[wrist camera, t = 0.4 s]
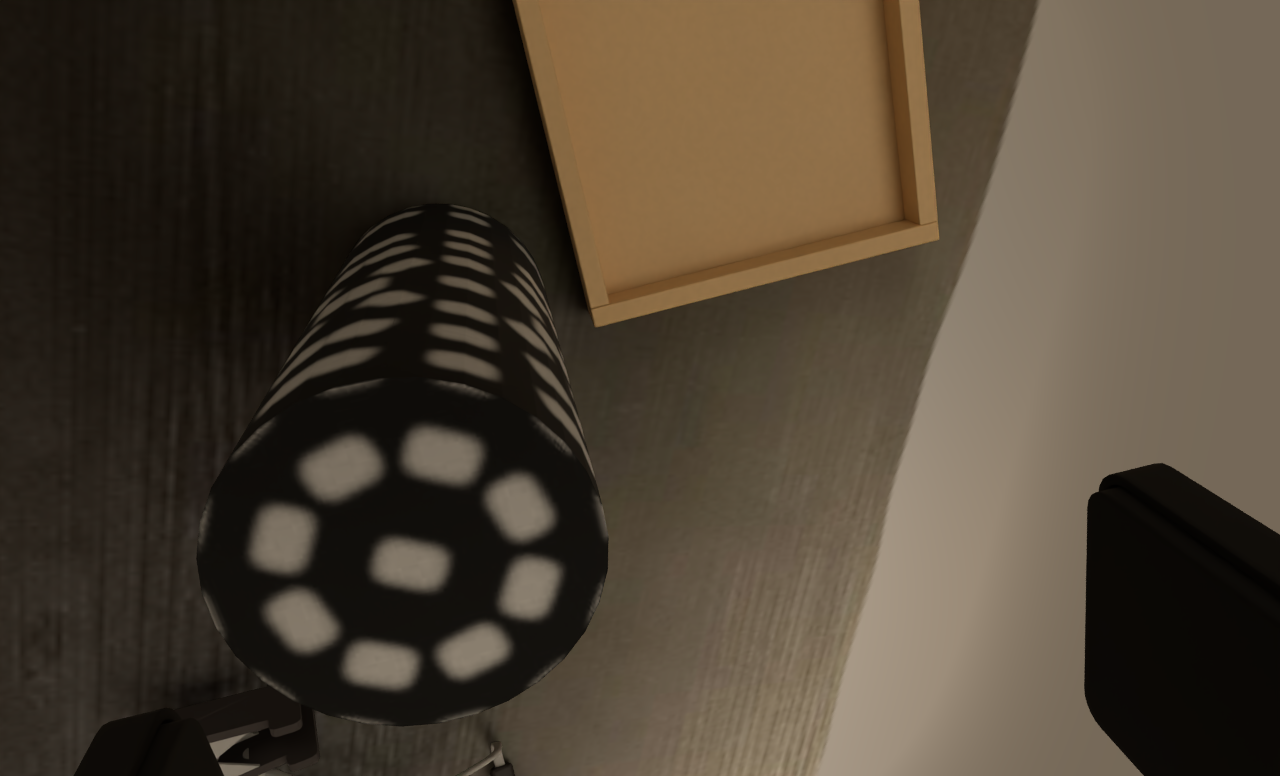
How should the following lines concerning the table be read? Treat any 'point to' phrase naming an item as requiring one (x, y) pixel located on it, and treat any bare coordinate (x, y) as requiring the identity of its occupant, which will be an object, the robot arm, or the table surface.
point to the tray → (729, 140)
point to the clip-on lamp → (276, 734)
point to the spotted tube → (411, 488)
